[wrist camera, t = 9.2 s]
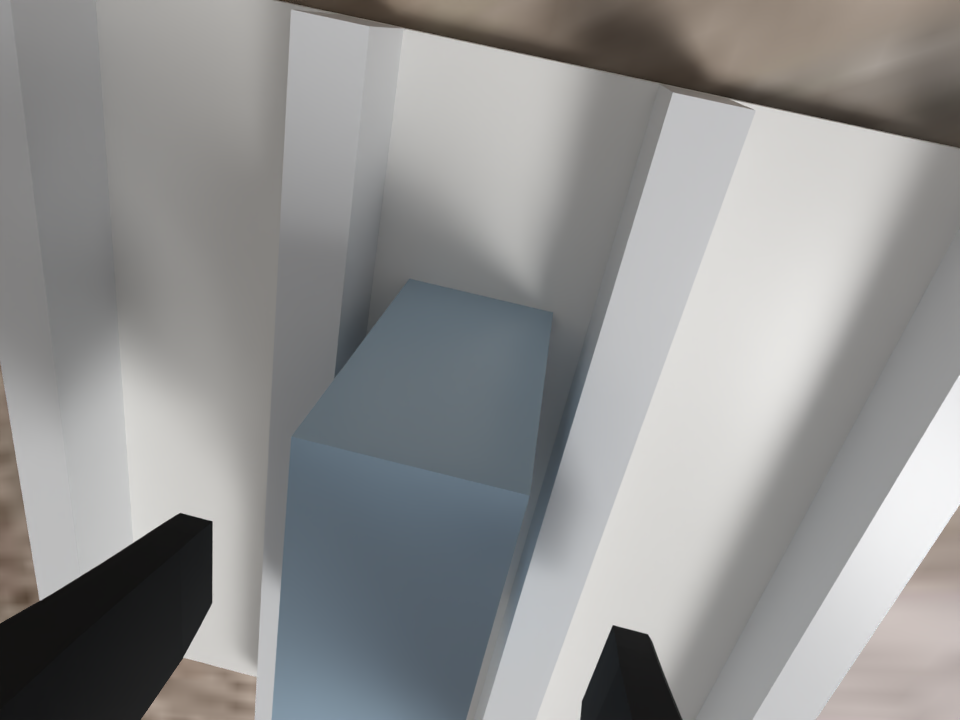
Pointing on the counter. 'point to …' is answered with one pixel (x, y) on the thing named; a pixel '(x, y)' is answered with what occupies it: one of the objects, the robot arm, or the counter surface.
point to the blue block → (408, 509)
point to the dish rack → (496, 274)
